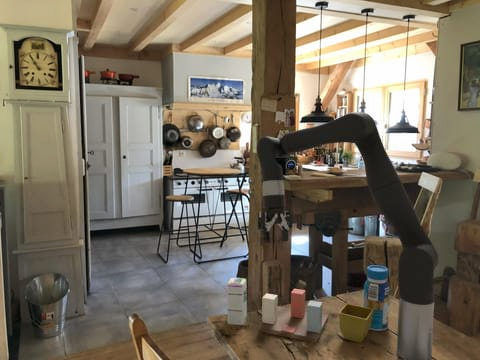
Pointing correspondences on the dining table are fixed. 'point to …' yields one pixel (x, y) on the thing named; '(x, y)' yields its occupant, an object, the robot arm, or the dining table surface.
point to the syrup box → (236, 301)
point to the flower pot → (355, 321)
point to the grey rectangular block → (314, 316)
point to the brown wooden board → (292, 326)
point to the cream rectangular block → (269, 308)
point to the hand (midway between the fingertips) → (276, 242)
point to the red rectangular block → (298, 303)
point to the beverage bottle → (377, 296)
